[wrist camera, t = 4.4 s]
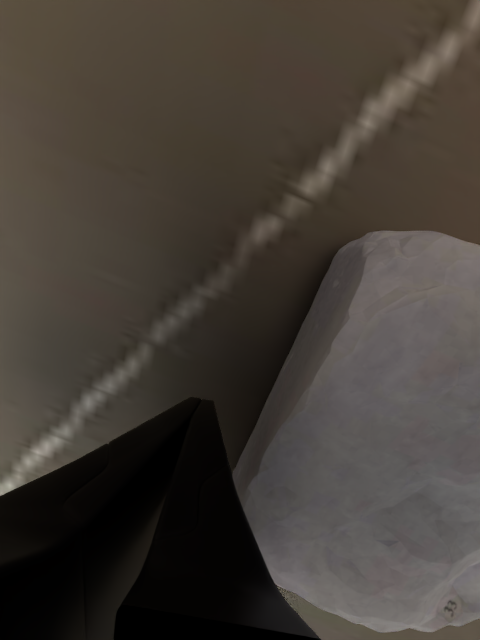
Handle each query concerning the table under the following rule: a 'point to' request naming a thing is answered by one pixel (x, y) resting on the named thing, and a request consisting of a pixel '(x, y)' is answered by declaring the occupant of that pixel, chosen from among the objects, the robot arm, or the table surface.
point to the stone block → (377, 439)
